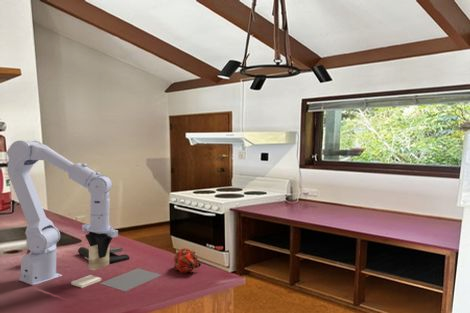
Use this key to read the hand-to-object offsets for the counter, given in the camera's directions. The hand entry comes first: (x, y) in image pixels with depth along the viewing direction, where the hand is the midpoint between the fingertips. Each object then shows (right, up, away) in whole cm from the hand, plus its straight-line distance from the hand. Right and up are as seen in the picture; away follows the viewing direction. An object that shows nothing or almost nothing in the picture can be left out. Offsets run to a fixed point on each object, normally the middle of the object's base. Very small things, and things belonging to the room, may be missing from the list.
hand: (99, 256), depth 114 cm
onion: (-27, -6, +12) cm, 30 cm away
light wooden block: (0, -4, 0) cm, 3 cm away
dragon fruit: (+27, -8, +9) cm, 29 cm away
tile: (-2, -7, -4) cm, 8 cm away
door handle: (-6, -7, +23) cm, 25 cm away
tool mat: (+11, -8, 0) cm, 13 cm away
